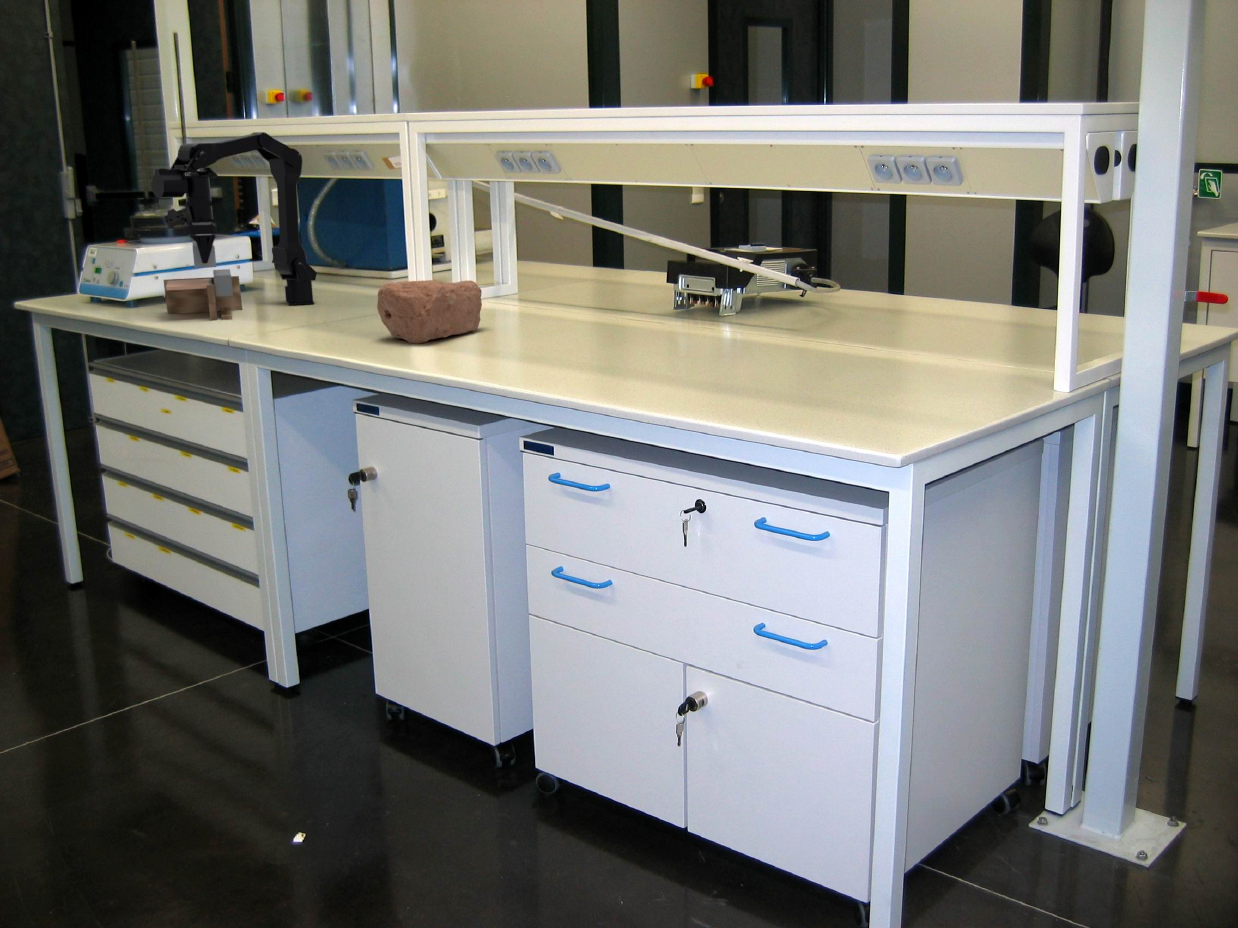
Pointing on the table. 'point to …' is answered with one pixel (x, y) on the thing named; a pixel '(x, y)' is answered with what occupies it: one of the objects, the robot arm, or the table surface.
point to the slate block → (198, 259)
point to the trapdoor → (206, 283)
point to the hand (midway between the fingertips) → (204, 262)
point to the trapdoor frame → (203, 300)
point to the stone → (429, 309)
